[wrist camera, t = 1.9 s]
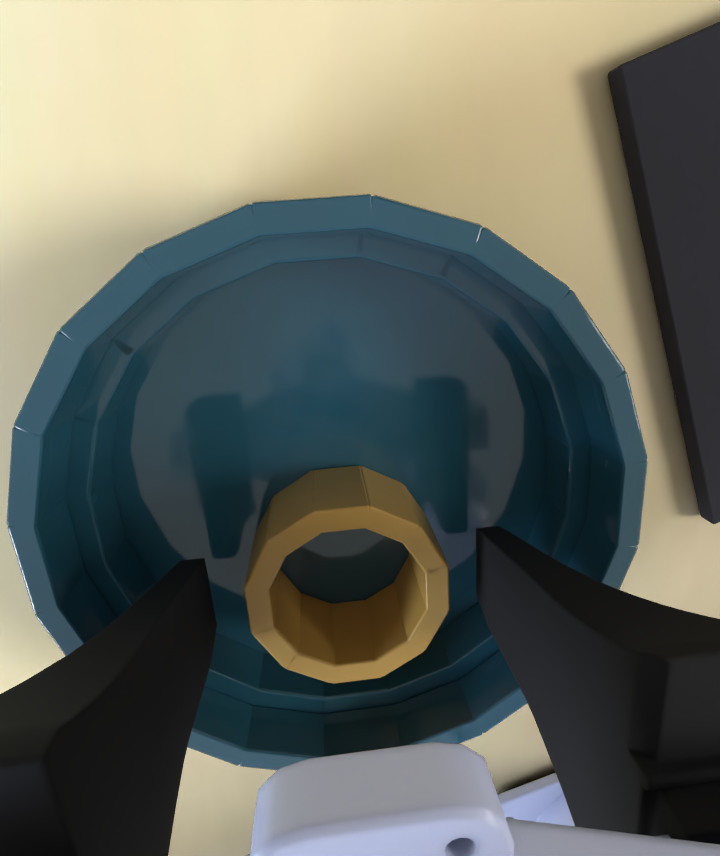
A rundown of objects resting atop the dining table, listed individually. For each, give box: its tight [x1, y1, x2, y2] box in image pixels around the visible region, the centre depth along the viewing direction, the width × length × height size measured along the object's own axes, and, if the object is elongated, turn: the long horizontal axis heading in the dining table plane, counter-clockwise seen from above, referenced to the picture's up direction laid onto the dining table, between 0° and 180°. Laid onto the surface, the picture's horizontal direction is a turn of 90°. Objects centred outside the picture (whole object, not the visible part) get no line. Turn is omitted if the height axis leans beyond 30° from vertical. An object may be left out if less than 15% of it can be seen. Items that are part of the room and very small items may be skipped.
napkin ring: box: [244, 466, 450, 684], centre depth 14 cm, size 5×5×3 cm
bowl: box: [7, 194, 647, 770], centre depth 14 cm, size 14×14×4 cm
